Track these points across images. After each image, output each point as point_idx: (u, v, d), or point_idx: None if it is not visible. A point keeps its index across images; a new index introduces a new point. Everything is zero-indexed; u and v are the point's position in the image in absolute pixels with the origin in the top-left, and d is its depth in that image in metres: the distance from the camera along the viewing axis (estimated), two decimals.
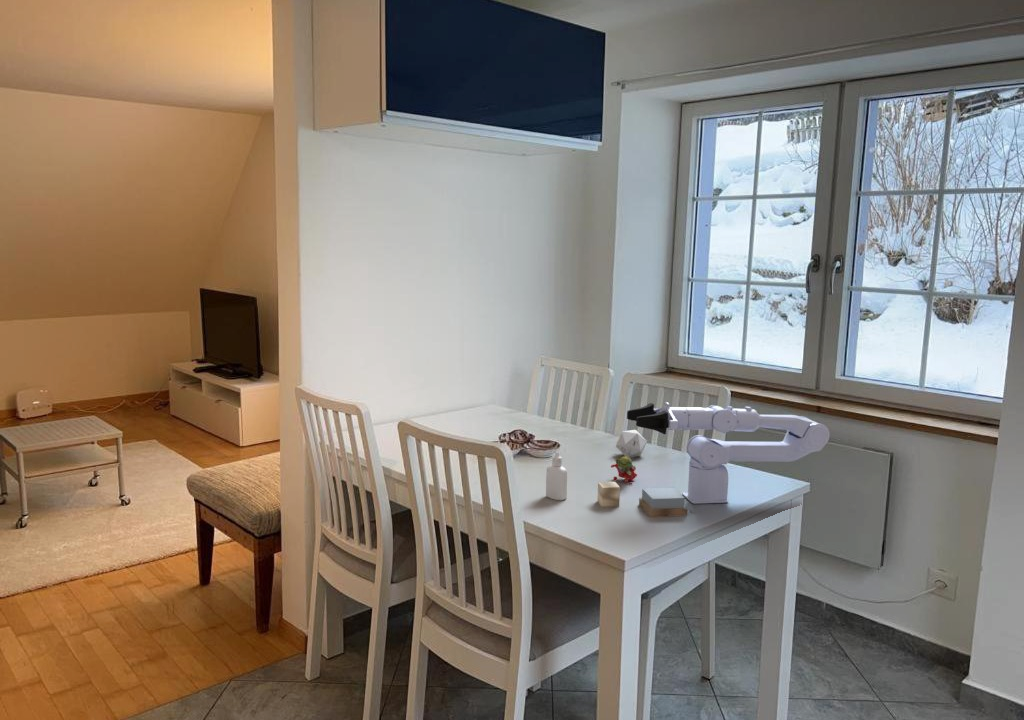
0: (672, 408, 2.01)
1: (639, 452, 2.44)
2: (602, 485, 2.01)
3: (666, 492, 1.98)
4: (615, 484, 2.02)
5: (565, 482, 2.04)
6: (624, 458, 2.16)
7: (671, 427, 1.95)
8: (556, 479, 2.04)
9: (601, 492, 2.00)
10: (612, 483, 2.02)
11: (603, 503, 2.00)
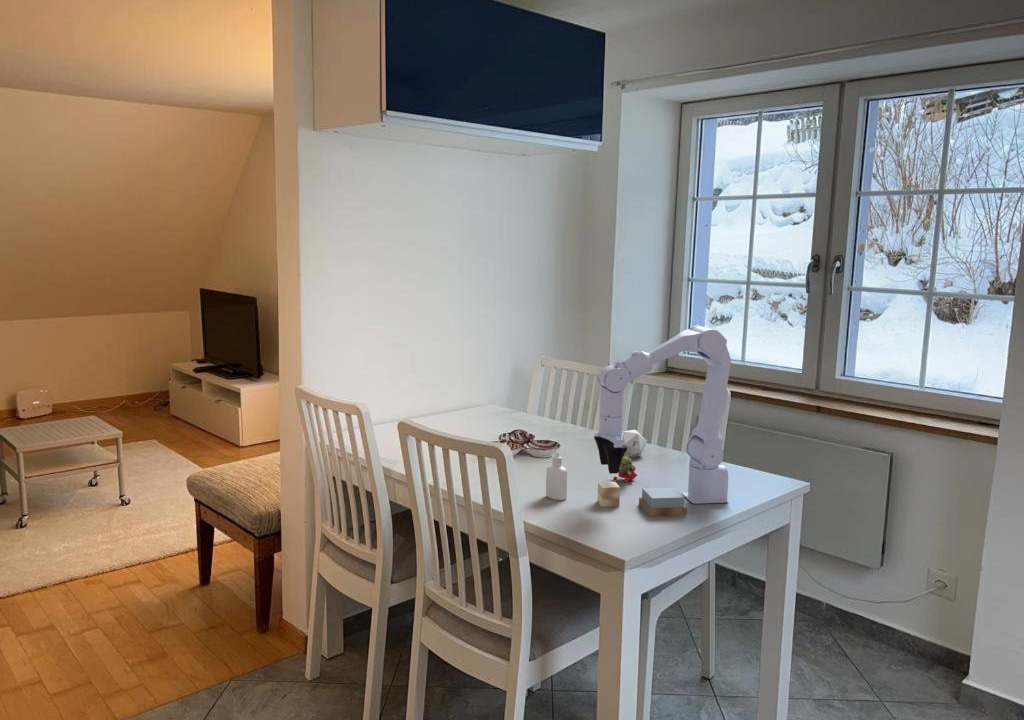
0: (600, 430, 1.98)
1: (639, 452, 2.44)
2: (602, 485, 2.01)
3: (666, 491, 1.98)
4: (615, 484, 2.02)
5: (565, 482, 2.04)
6: (624, 458, 2.16)
7: (621, 445, 1.93)
8: (556, 479, 2.04)
9: (601, 492, 2.00)
10: (612, 483, 2.02)
11: (603, 503, 2.00)
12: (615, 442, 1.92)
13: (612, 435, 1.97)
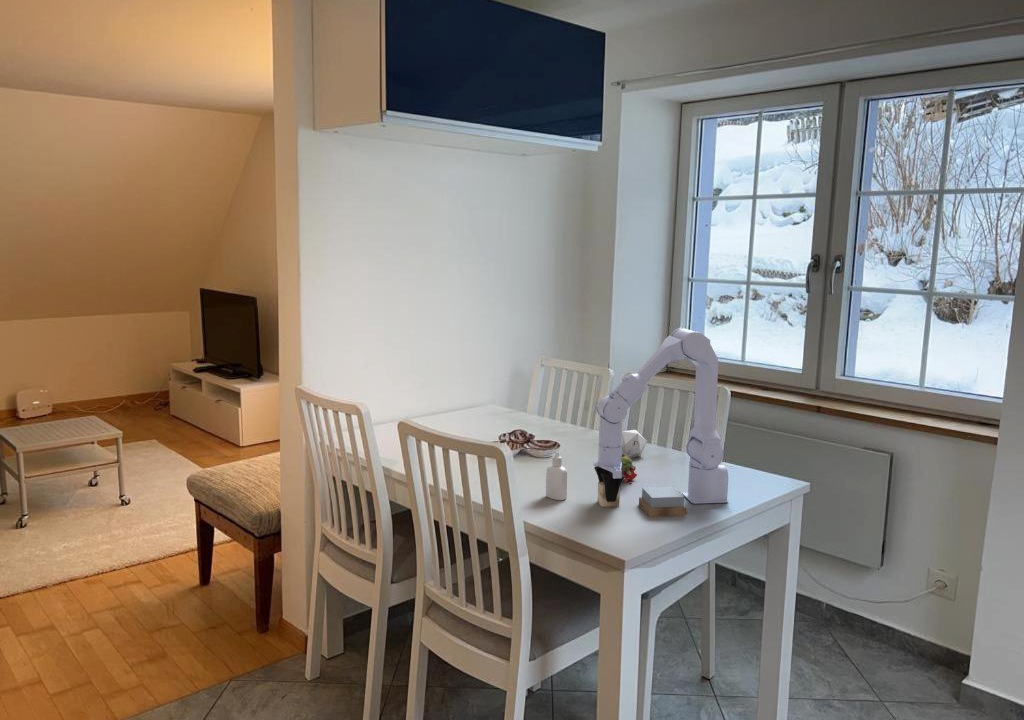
0: (599, 460, 1.99)
1: (639, 452, 2.44)
2: (602, 485, 2.01)
3: (666, 491, 1.99)
4: None
5: (565, 482, 2.04)
6: (624, 458, 2.16)
7: (620, 476, 1.94)
8: (556, 479, 2.04)
9: (601, 492, 2.00)
10: None
11: (603, 503, 2.00)
12: (614, 473, 1.94)
13: (611, 465, 1.98)
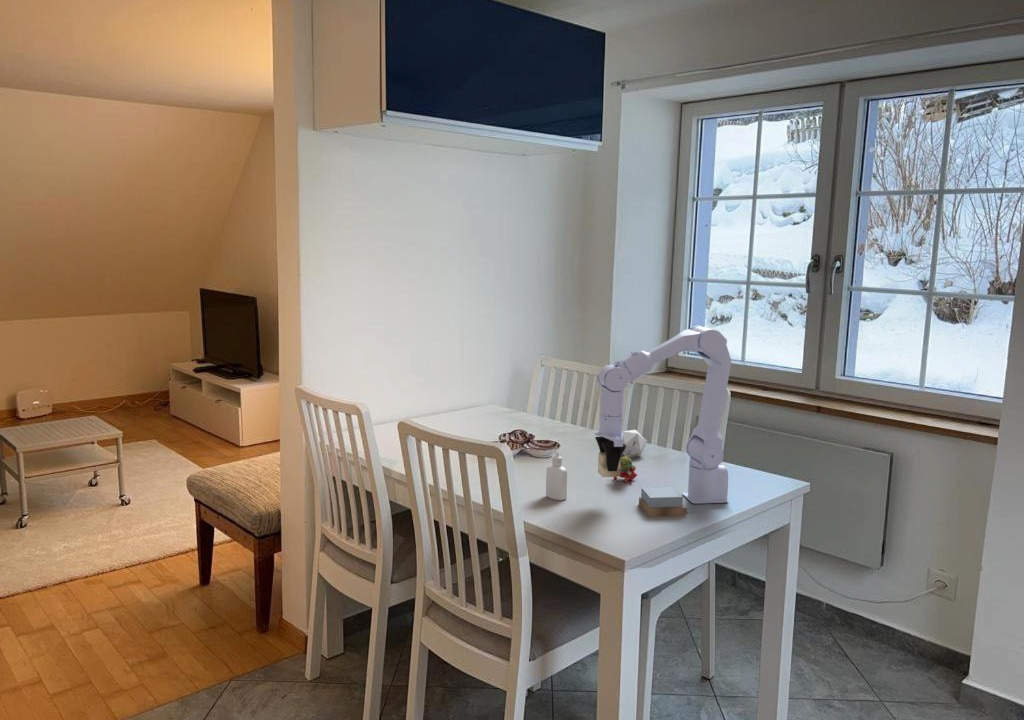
0: (600, 429, 1.98)
1: (639, 452, 2.44)
2: (603, 455, 2.00)
3: (665, 491, 1.99)
4: None
5: (565, 482, 2.04)
6: (624, 458, 2.16)
7: (621, 445, 1.93)
8: (556, 479, 2.04)
9: (602, 462, 1.99)
10: None
11: (604, 473, 1.98)
12: (615, 441, 1.92)
13: (612, 434, 1.96)
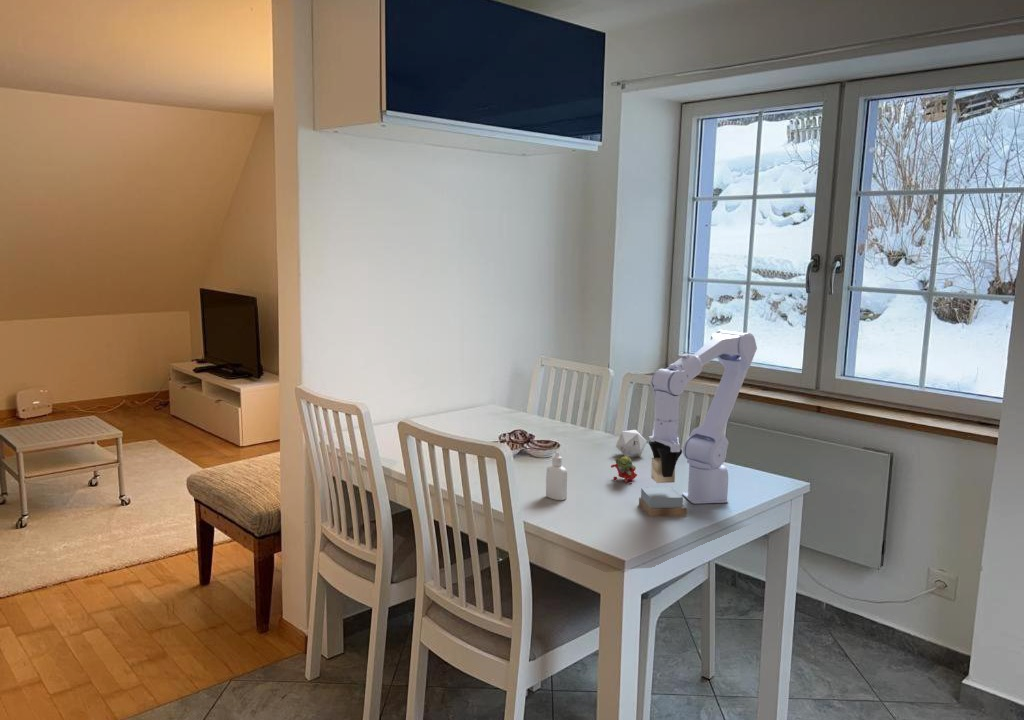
0: (655, 434, 1.94)
1: (639, 452, 2.44)
2: (657, 460, 1.96)
3: (665, 491, 1.99)
4: None
5: (565, 482, 2.04)
6: (624, 458, 2.16)
7: (678, 450, 1.89)
8: (556, 479, 2.04)
9: (656, 467, 1.95)
10: None
11: (658, 479, 1.94)
12: (672, 447, 1.88)
13: (668, 439, 1.92)
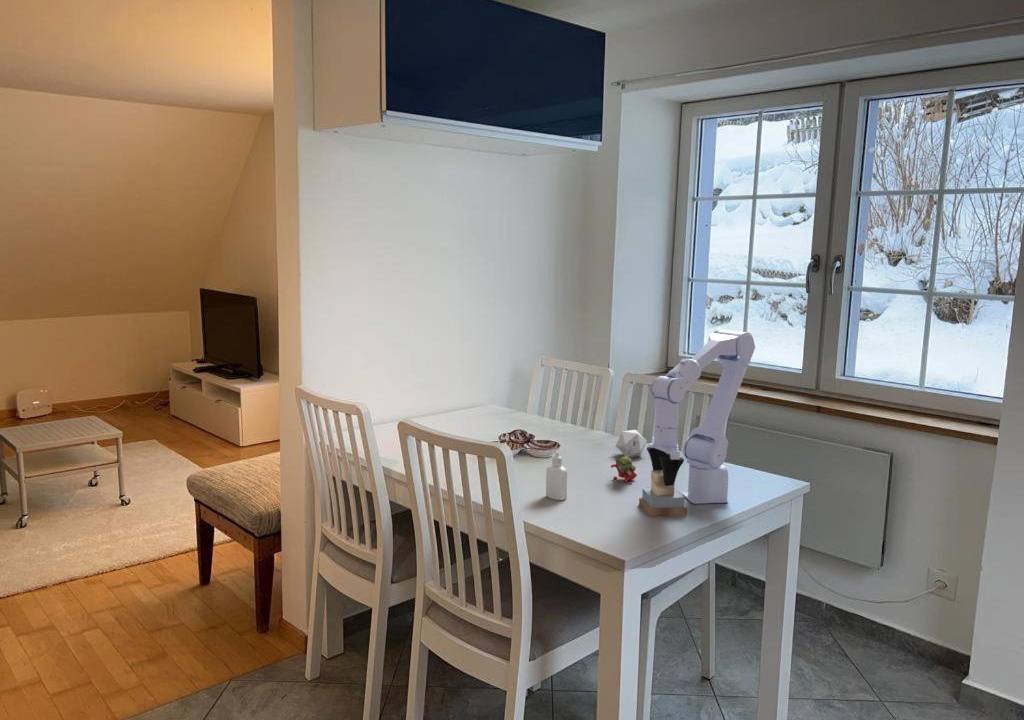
0: (655, 441, 1.94)
1: (639, 452, 2.44)
2: (656, 473, 1.96)
3: None
4: None
5: (565, 482, 2.04)
6: (624, 458, 2.16)
7: (677, 457, 1.89)
8: (556, 479, 2.04)
9: (655, 480, 1.95)
10: None
11: (658, 491, 1.95)
12: (672, 454, 1.89)
13: (668, 447, 1.93)
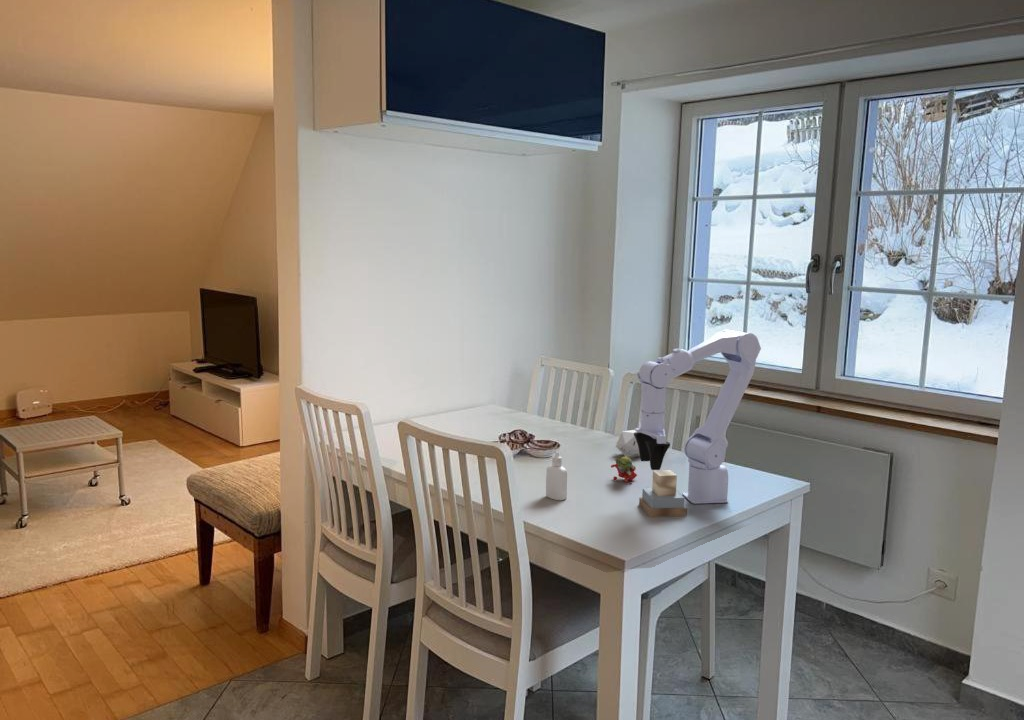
0: (642, 426, 1.97)
1: None
2: (658, 473, 1.96)
3: None
4: (671, 472, 1.97)
5: (565, 482, 2.04)
6: (624, 458, 2.16)
7: (664, 442, 1.91)
8: (556, 479, 2.04)
9: (657, 480, 1.95)
10: (668, 472, 1.98)
11: (660, 492, 1.95)
12: (658, 438, 1.91)
13: (654, 431, 1.95)
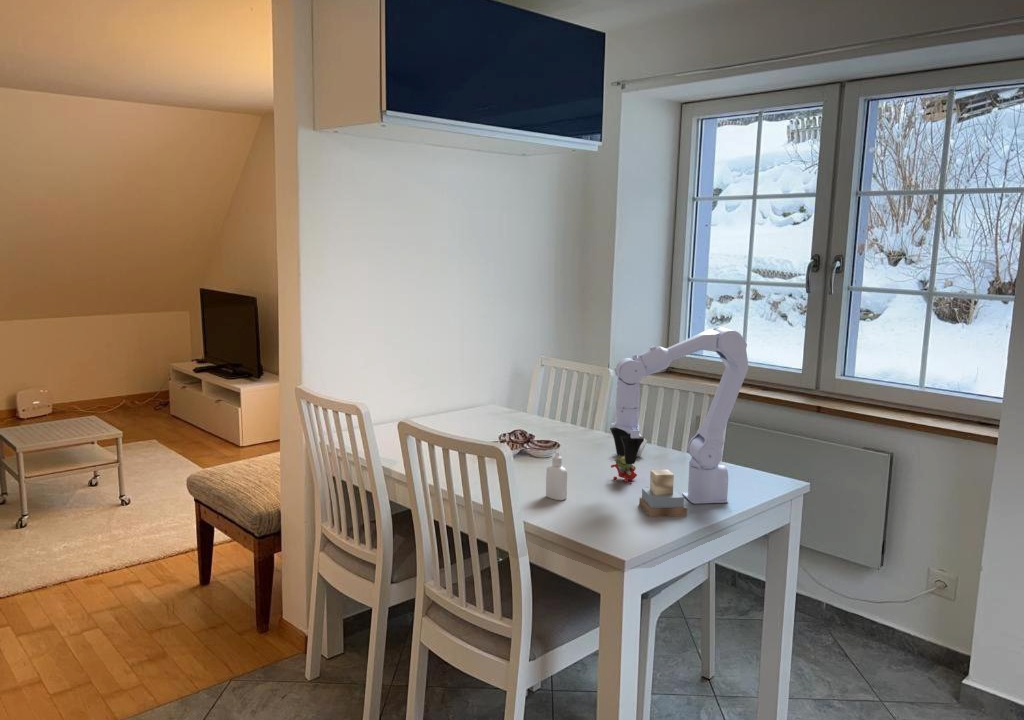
0: (617, 421, 2.02)
1: (639, 452, 2.44)
2: (655, 473, 1.96)
3: None
4: (668, 472, 1.97)
5: (565, 482, 2.04)
6: (624, 458, 2.16)
7: (637, 436, 1.96)
8: (556, 479, 2.04)
9: (654, 480, 1.96)
10: (665, 471, 1.98)
11: (656, 491, 1.95)
12: (632, 433, 1.96)
13: (629, 426, 2.00)
